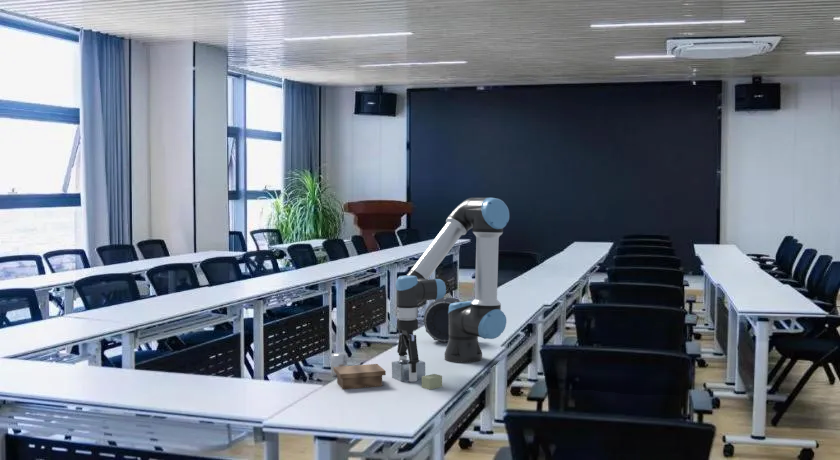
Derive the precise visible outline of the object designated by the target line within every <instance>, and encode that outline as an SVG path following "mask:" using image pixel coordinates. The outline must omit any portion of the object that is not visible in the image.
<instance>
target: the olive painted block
mask: <svg viewBox="0 0 840 460" xmlns="http://www.w3.org/2000/svg"><path fill="white" fill-rule="evenodd" d="M421 388H422V389H426V390H433V389H434V390H435V389H438V388H443V375H441V374H437V373H432V374H427V375H426V374H425V376H422V379H421Z"/></svg>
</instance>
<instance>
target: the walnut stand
mask: <svg viewBox="0 0 840 460" xmlns="http://www.w3.org/2000/svg"><path fill="white" fill-rule="evenodd" d="M386 371H387V370H385V369H384V368H383V367H382V366H380V365H379V364H378V363H371V364H369V363H368V364H357V365H347V366H342V367H334V372H335V373H336V374H337V377H336V382H337V384H338V386H339V387H340V388H341V389H342V390H349V389H350V390H351V389H361V388H362V389H363V388H375V387H382V386H383V376H386V374H387V372H386Z"/></svg>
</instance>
